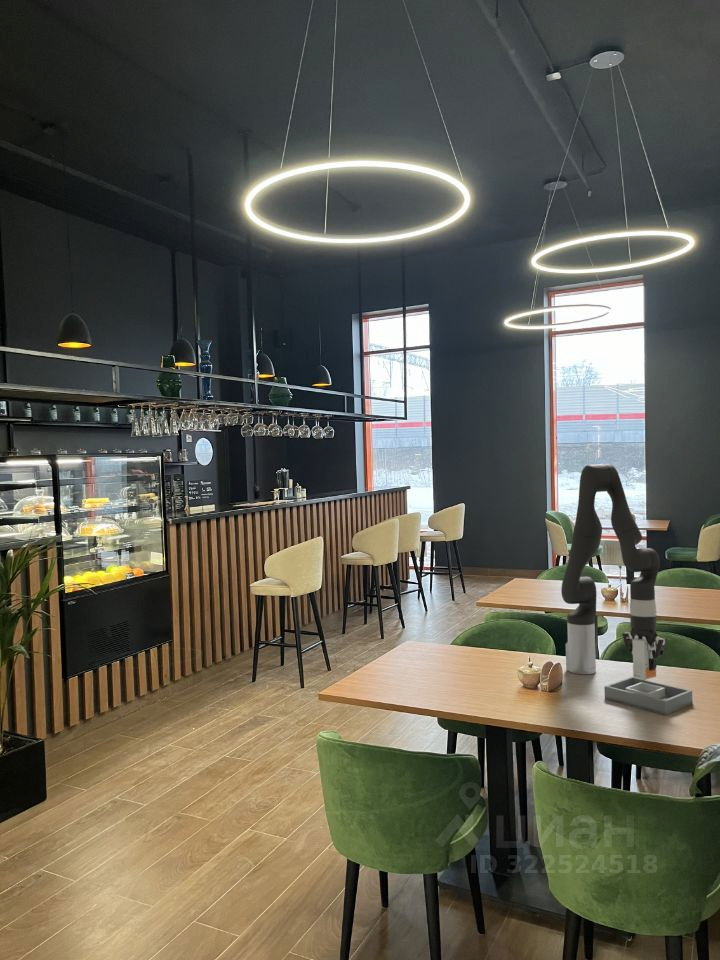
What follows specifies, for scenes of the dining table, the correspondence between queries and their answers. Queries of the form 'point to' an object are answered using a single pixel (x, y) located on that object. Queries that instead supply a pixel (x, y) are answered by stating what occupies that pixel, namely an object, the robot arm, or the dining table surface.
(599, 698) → the dining table surface
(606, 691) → the walled box
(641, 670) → the skincare box
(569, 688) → the dining table surface
